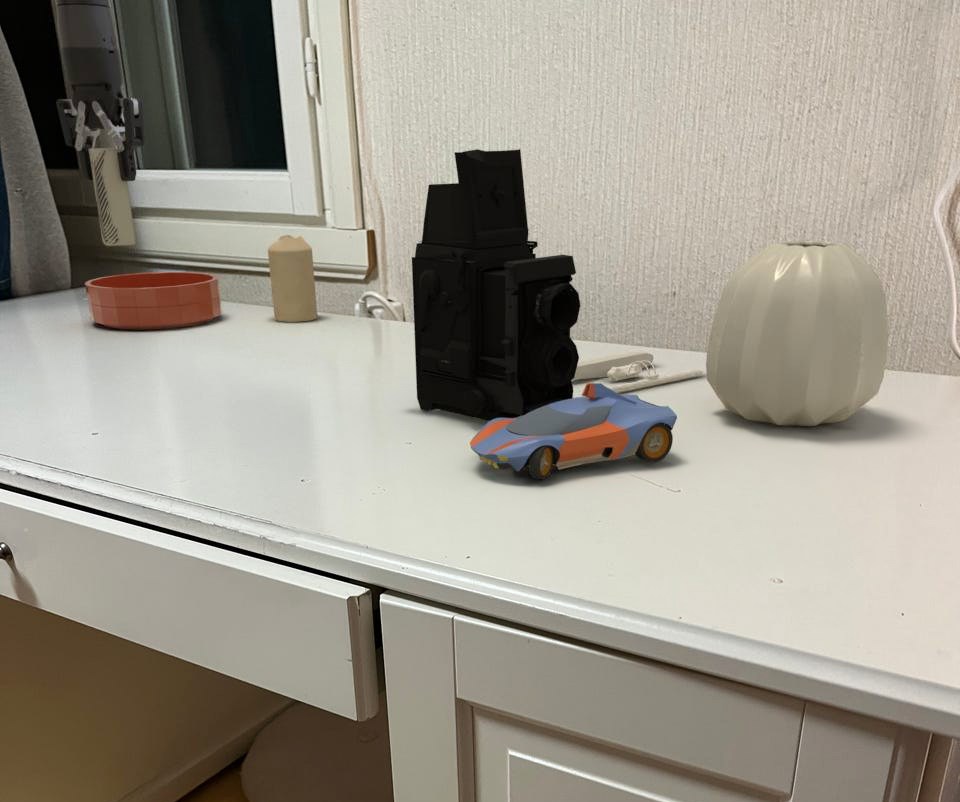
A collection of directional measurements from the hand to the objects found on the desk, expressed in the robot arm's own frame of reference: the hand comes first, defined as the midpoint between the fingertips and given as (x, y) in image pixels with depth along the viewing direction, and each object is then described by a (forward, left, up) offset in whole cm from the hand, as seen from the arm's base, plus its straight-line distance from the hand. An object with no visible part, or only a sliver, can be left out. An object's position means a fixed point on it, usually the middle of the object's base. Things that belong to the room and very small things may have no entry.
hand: (110, 180), depth 143 cm
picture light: (+89, -27, -16) cm, 94 cm away
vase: (+104, -34, -16) cm, 111 cm away
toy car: (+92, -53, -16) cm, 107 cm away
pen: (+85, -25, -16) cm, 90 cm away
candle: (+37, -9, -16) cm, 41 cm away
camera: (+82, -43, -16) cm, 94 cm away
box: (0, 0, -9) cm, 9 cm away
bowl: (+21, -17, -16) cm, 31 cm away
